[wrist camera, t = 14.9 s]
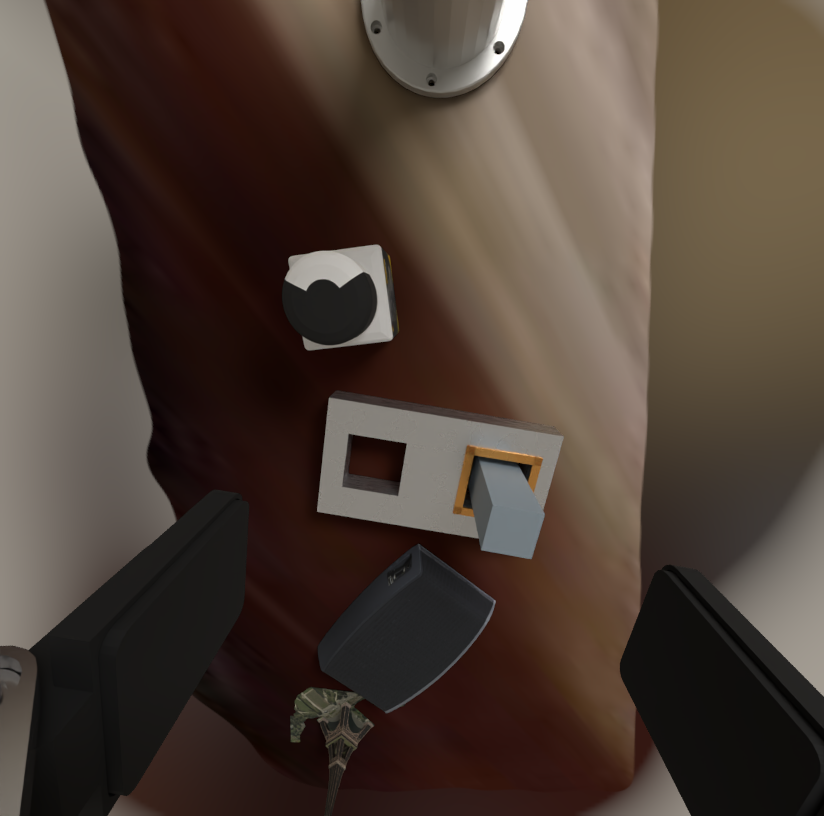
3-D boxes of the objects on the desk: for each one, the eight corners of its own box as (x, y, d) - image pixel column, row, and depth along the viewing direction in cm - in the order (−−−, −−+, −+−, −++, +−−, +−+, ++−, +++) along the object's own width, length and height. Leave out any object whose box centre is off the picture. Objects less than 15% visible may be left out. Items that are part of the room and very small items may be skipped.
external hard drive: (500, 601, 46) (507, 629, 42) (395, 695, 50) (392, 729, 46) (413, 536, 44) (412, 559, 40) (313, 639, 48) (303, 670, 44)
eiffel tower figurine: (407, 691, 50) (400, 827, 37) (403, 749, 53) (394, 894, 40) (290, 680, 50) (243, 812, 37) (292, 738, 53) (248, 880, 40)
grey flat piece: (336, 390, 39) (328, 398, 36) (554, 426, 39) (564, 437, 36) (324, 497, 42) (316, 512, 39) (525, 530, 42) (533, 548, 39)
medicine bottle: (399, 333, 37) (386, 348, 26) (326, 342, 38) (281, 360, 26) (389, 254, 36) (370, 232, 24) (313, 264, 36) (258, 247, 25)
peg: (476, 450, 40) (492, 505, 30) (514, 457, 40) (544, 514, 30) (467, 485, 41) (481, 550, 31) (505, 492, 41) (531, 559, 31)
